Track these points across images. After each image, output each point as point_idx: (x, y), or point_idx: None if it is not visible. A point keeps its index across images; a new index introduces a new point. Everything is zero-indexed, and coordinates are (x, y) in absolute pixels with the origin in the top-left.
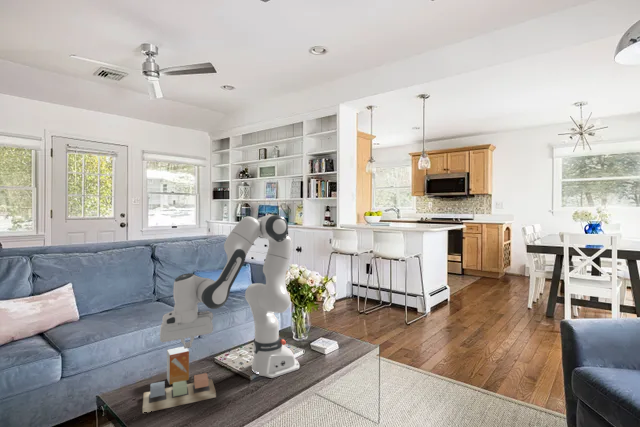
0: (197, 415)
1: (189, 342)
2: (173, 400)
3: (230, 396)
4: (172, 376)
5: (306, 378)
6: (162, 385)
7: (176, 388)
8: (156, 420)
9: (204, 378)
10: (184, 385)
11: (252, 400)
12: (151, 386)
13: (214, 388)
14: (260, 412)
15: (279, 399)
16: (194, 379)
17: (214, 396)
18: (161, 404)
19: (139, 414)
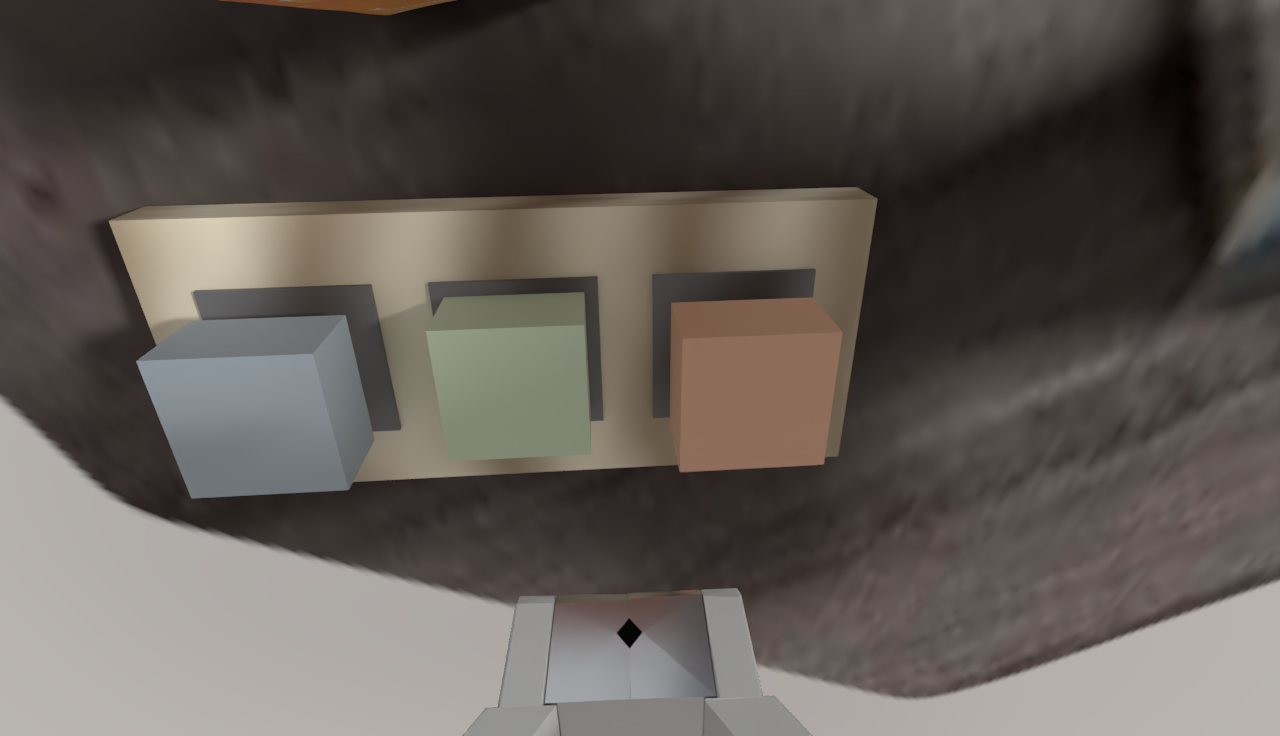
0: (652, 589)
1: (697, 731)
2: (470, 462)
3: (929, 455)
4: (395, 8)
5: None
6: (311, 447)
7: (481, 458)
8: (372, 563)
9: (785, 446)
10: (563, 429)
11: (1043, 547)
12: (175, 428)
13: (844, 394)
14: (1016, 659)
15: (1195, 585)
16: (678, 380)
17: None
18: (371, 479)
19: None
